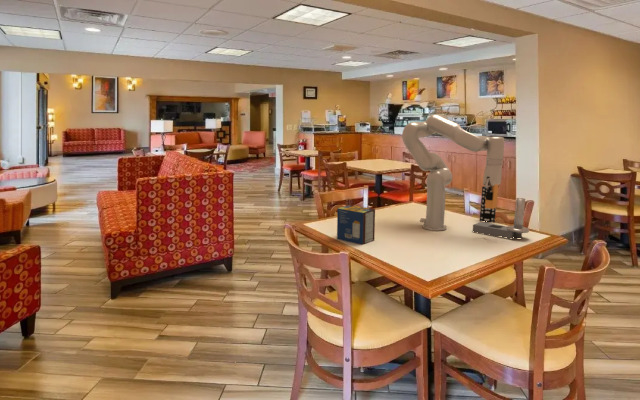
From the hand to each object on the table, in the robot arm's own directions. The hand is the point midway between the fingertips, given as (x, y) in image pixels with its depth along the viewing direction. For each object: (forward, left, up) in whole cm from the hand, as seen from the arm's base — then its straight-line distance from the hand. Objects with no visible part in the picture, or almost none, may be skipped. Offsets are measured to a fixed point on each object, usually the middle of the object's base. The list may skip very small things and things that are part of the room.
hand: (491, 199), depth 208 cm
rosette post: (+11, +8, -19) cm, 24 cm away
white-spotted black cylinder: (-16, +34, -19) cm, 42 cm away
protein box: (-42, -53, -20) cm, 70 cm away
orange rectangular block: (0, 0, -4) cm, 4 cm away
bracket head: (0, +8, -19) cm, 21 cm away
